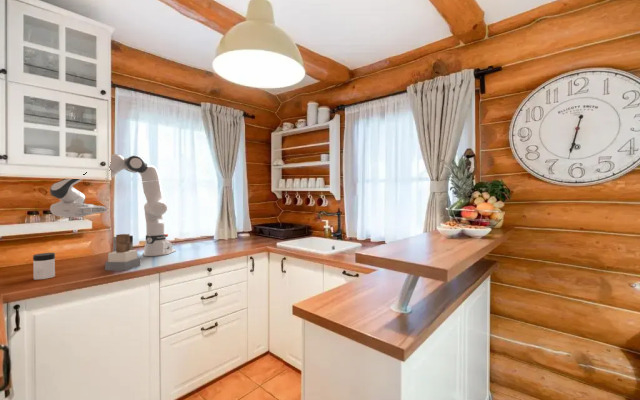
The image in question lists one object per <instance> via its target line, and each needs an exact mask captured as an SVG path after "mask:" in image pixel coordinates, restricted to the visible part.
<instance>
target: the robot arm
mask: <svg viewBox="0 0 640 400" xmlns="http://www.w3.org/2000/svg"><path fill="white" fill-rule="evenodd" d="M110 156H111V162H110V163H111V164H110V166H109V168H110V170H111V179H112V178H113V177H115V176H116V175H117V174H119V172H121V171H122V170H125V171H127V172H130V173H135V174H136V173H138V174H139V175H140V177H141V183H142V189H143V194H144V197H145V199H146V203H145V204H144V205H143V210H144V217H145V224H146V225H145V226H146V231H145V233H146V235H145V243H144V250H143V253H142V254H143V256H145V257H157V256H165V255H169V254H172V253H174V252H176V251H177V249H175V248H173V244H172V242H170V241H169V240H167V238H168V237H169V234H168V233H165V223H164V217H163V215H164V214H166V212H167V211H168V206H167V204H166V201H165V198H164V194H163V190H162V186H161V179H160V174H159V171H158V169H157V166H154V165H151V164H150V165H149V164H148V163H147V162H146V161H145V160H144V158H142V157H141V156H139V155H131V156H129V157H127V158H125V157H124V156H122V155H120V154H118V153H113V154H111V155H110ZM110 170H109V171H110ZM86 173H87V172H86ZM86 173H85V174H86ZM85 174H83V175H85ZM83 180H84V179H65V178H63V179H61V180H59V181H57V182H55V183H53V184H52V185H51V186H50V187H49V191H50V195H51V196H52V197H54V198H57V199H59V200H60V201H58V202H56V203H52V204H51V205H50V206H49V207H50V208H49V210H50V213H51V214H52V215H54V216H56V217H59V218H60V217H61V218H68V217H70V218H83V217H86V216H91V215H94V214H102V213H106V212H107V211H108V209H107V207H106V206H104V205H95V204H92V203H86V202H85V201H86V195H85V194H84V193H83V192H81V191H80V190H79V189H77V188H75V187H74V186H75V185H76V184H78V183H80V182H81V181H83Z"/></svg>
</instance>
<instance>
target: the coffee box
mask: <svg viewBox="0 0 640 400" xmlns="http://www.w3.org/2000/svg"><path fill="white" fill-rule="evenodd" d="M112 238H113V239H112V252H115V251H116V236H114V237H112ZM133 238H134V235H129V250H134V248H133V247H134V246H133V245H134V241H133V240H134V239H133Z"/></svg>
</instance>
